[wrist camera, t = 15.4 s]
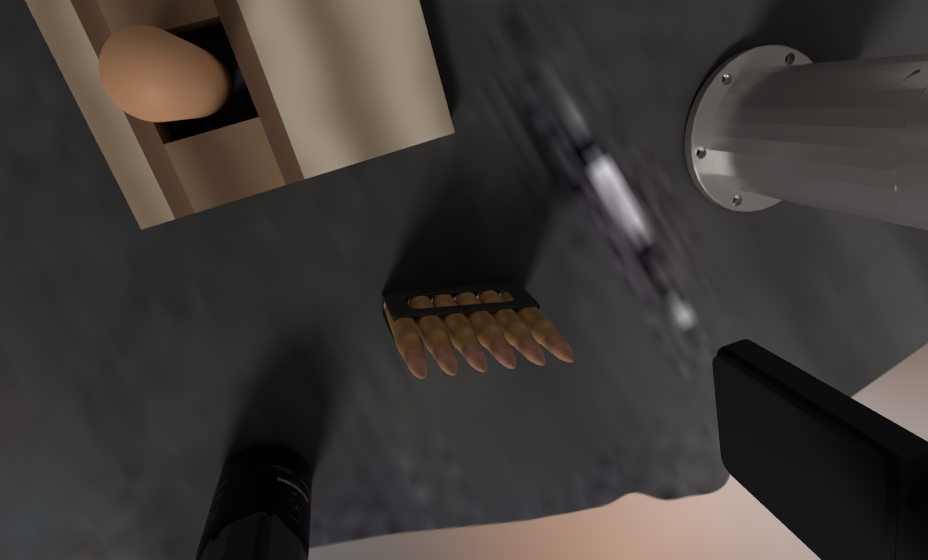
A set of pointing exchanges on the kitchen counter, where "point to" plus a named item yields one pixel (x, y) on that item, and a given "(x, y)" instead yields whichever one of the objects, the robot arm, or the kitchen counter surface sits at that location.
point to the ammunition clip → (470, 326)
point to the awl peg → (162, 76)
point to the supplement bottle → (260, 497)
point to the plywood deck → (258, 94)
